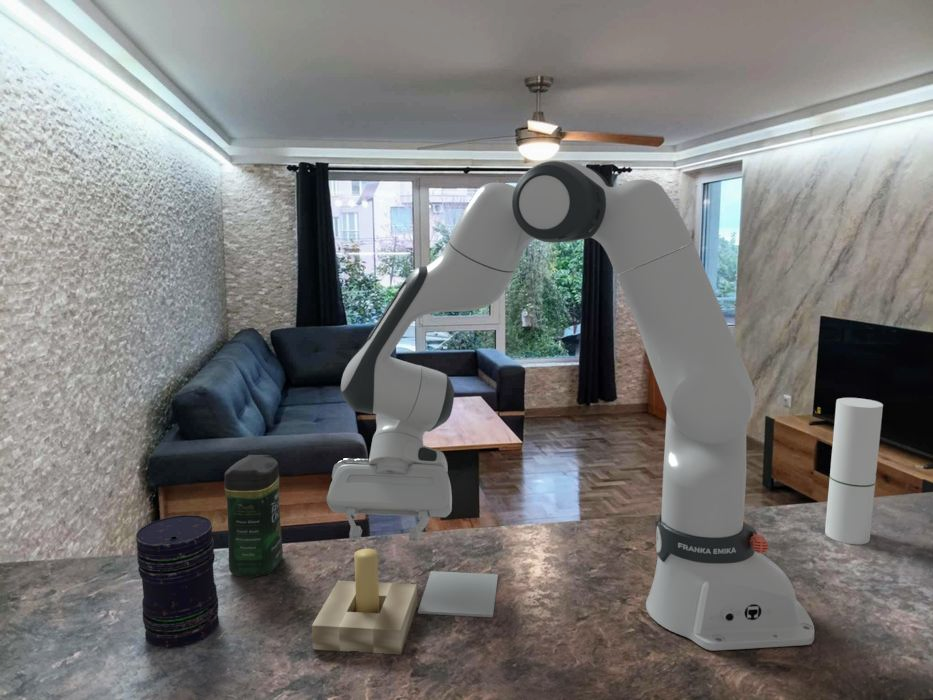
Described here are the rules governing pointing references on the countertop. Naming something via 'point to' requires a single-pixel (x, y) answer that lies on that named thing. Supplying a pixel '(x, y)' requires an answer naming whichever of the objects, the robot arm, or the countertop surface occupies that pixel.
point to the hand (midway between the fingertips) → (384, 540)
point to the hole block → (365, 620)
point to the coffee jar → (253, 516)
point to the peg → (366, 581)
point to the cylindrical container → (853, 470)
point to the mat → (459, 594)
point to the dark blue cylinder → (177, 581)
